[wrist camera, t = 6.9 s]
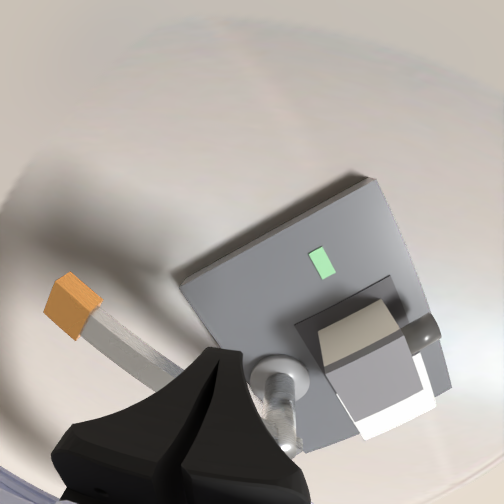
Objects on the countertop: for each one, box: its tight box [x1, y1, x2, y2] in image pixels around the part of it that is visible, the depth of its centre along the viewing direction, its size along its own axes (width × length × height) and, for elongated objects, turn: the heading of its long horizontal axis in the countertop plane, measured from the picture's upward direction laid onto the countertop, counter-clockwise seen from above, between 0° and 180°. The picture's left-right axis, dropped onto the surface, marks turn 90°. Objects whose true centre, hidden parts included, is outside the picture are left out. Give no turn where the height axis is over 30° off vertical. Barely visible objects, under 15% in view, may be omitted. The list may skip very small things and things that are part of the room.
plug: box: [318, 299, 441, 422], centre depth 16 cm, size 6×4×4 cm, turn 121°
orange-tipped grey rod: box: [43, 271, 303, 460], centre depth 15 cm, size 14×2×5 cm, turn 52°
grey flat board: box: [179, 177, 452, 453], centre depth 19 cm, size 12×17×2 cm
